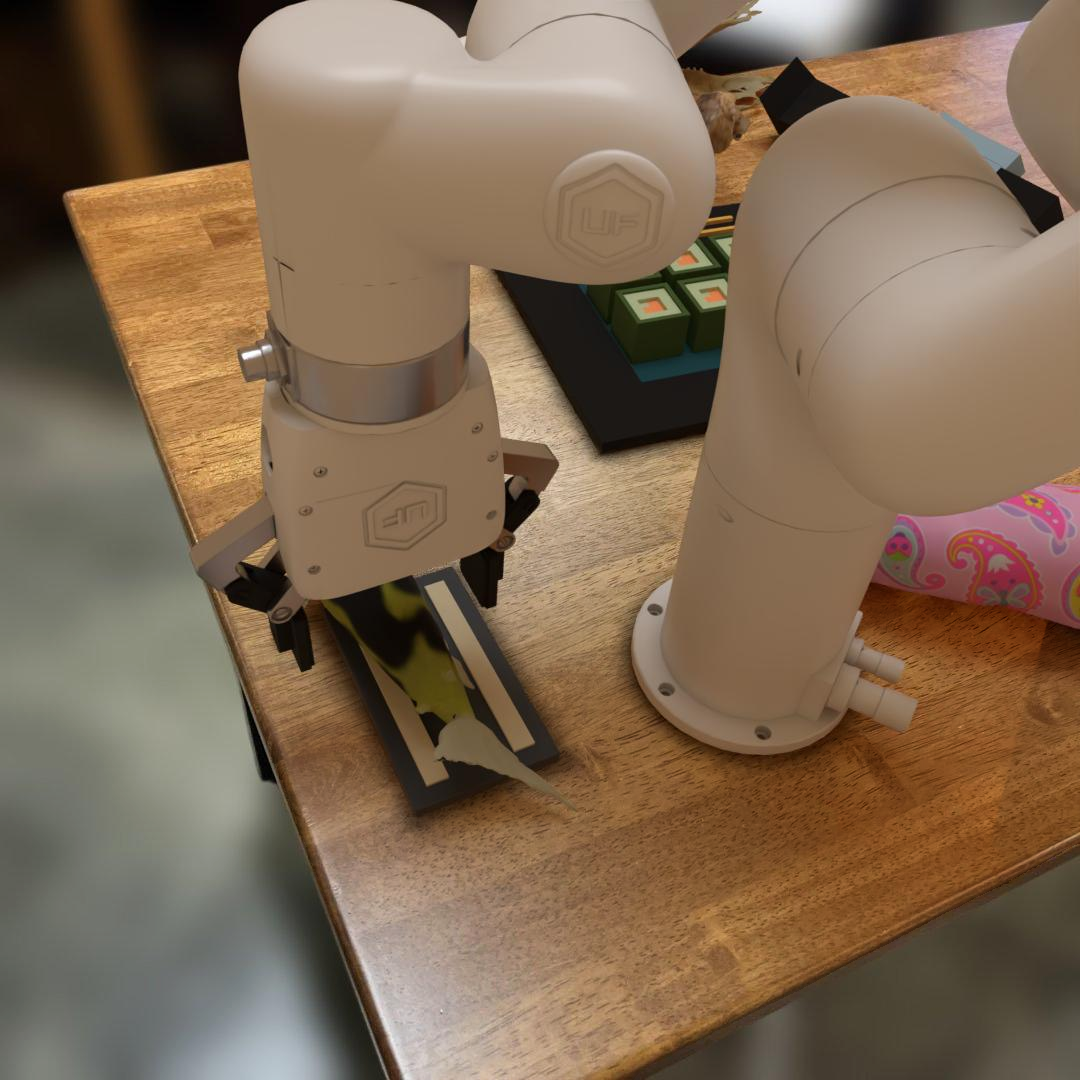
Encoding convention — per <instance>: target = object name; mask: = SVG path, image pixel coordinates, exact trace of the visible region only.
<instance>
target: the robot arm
mask: <svg viewBox="0 0 1080 1080" xmlns="http://www.w3.org/2000/svg"><path fill="white" fill-rule="evenodd" d="M751 1H752V0H477V1H476V4H475V6H474V9H473V12H472V14H471V17H470V19H469V22H468V25H467V30H466V35H465V36H466V41H465V48H464V46H463V44H462V43H461V41H460V39H459V38H460V37H459V36H458V35H457V33H456V32H455V31H454V30H453V29H452V28H451V27H450V26H449V25H448V24H447V23H445V22H444V21H443V20H442V19H440V18H439V17H437V16H436V15H434V14H433V13H431V12H430V11H427V10H425V9H423V8H421V7H418V6H416V5H413V4H410V3H406V2H403V1H398V0H305V1H301V2H298V3H294V4H290V5H287V6H285V7H283V8H280V9H278V10H276V11H275V12H273V13H271V14H270V15H268V16H267V17H265V18H264V19H263V20H262V21H260V23H259V24H257V25H256V26H255V27H254V28H253V30H252V31H251V33H250V35H249V36H248V38H247V40H246V42H245V43H244V45H243V46H242V51H241V54H240V59H239V66H238V74H237V75H238V87H239V98H240V106H241V113H242V120H243V127H244V135H245V140H246V141H245V142H246V147H247V154H248V155H247V156H248V163H249V169H250V176H251V182H252V184H251V185H252V190H253V196H254V204H255V205H254V206H255V211H256V218H257V225H258V232H259V238H260V245H261V251H262V258H263V265H264V272H265V273H264V274H265V280H266V286H267V294H268V302H269V308H270V309H267V310H265V314H266V322H267V329H265V330H264V336H263V338H262V339H256V340H255V343H254V344H251V345H248V346H243V347H238V348H236V355H237V359H238V364H239V368H240V369H241V373H242V376H243V378H244V381H245V382H246V383H247V384H250V383H252V382H256V381H261V380H265V382H264V387H263V394H262V404H261V418H260V419H261V420H260V469H261V472H260V473H261V486H262V497H261V498H260V499H259V500H257V501H255V502H254V503H252V505H250V506H249V507H247V508H245V509H244V510H243V511H241V512H240V513H238V514H237V515H236V516H234V517H233V518H231V519H230V520H229V521H226V522H225V523H224V524H223V525H221V526H220V527H218V528H217V529H216V530H214V531H213V532H211V533H210V534H209V535H207V536H206V537H204V538H203V539H201V540H200V541H198V542H197V543H195V544H194V545H193V546H192V547H191V548H190V549H189V551H188V554H189V558H190V561H191V564H192V566H193V569H194V571H195V573H196V575H197V577H198V578H200V579H201V580H202V581H204V582H205V583H206V584H208V585H209V586H210V587H211V588H213V589H215V590H216V591H217V592H221V594H224V595H225V596H226V598H227V600H228V602H229V603H231V604H232V605H236V606H240V607H243V608H247V609H250V610H252V611H257V612H260V613H263V614H266V615H267V618H268V624H269V629H270V632H271V636H272V639H273V641H274V644H275V647H276V649H277V652H278V653H279V654H283V653H286V652H289V651H291V652H292V654H293V657H294V660H295V661H296V664H297V666H298V669H299V671H300V673H306V672H308V671H310V670H312V669H313V666H314V667H315V665H316V663H315V656H314V655H315V654H314V648H313V641H312V636H311V629H310V621H309V618H308V615H307V613H306V611H305V607H304V608H303V606H302V605H303V604H304V602H305V601H306V600H307V599H309V600H311V601H312V600H314V601H321V600H325V599H333V598H337V597H341V596H345V595H349V594H352V593H355V592H359V591H362V590H365V589H369V588H372V587H375V586H378V585H381V584H385V583H388V582H391V581H394V580H397V579H401V578H404V577H407V576H410V575H413V576H414V575H416V574H419V573H422V572H426V571H428V570H432V569H434V568H437V567H440V566H444V565H445V564H449V563H452V562H456V561H458V560H459V570H460V572H461V575H462V576H463V578H464V580H465V582H466V583H467V585H468V587H469V588H470V590H471V592H472V594H473V595H474V597H475V598H476V600H477V602H478V604H479V606H480V607H481V608H482V609H486V610H489V609H492V608H496V607H497V605H498V589H499V588H498V587H499V581H502V580H503V579H504V571H505V569H504V568H505V554H506V553H505V552H506V551H508V550H510V549H511V548H512V547H514V545H515V544H516V541H517V538H516V535H515V534H514V533H515V532H516V531H517V530H518V529H519V527H521V526H522V524H524V523H525V521H526V520H527V519H528V518H529V517H530V516H532V514H533V513H534V512H535V511H536V510H537V509H538V508H539V507H540V504H541V498H540V495H541V493H542V492H545V491H546V489H547V487H548V486H549V484H550V483H551V481H552V479H553V477H554V476H555V474H556V473H557V472H558V469H559V468H560V461H559V460H558V459H557V457H556V455H555V454H554V453H553V452H552V450H551V449H550V447H549V446H548V445H547V444H545V443H542V442H534V441H528V440H521V439H514V438H506V437H502V434H501V427H500V419H499V412H498V411H499V410H498V406H497V399H496V394H495V390H494V385H493V379H492V375H491V373H490V369H489V365H488V362H487V361H486V359H485V357H484V356H483V355H482V354H481V352H480V351H478V349H477V348H475V346H474V345H473V344H472V343H471V341H470V340H471V339H470V338H471V334H470V333H471V266H475V267H480V268H486V269H491V270H495V269H496V270H501V271H506V272H511V273H516V274H521V275H526V276H531V277H536V278H541V279H546V280H552V281H558V282H564V283H574V284H586V285H604V284H616V283H624V282H629V281H633V280H637V279H641V278H644V277H647V276H649V275H651V274H654V273H656V272H658V271H660V270H662V269H664V268H665V267H667V266H669V265H670V264H672V263H673V262H674V261H676V260H677V259H678V258H679V257H681V256H682V255H683V254H684V253H685V252H686V251H687V250H688V249H689V248H690V247H691V246H692V244H693V243H694V242H695V241H696V239H697V238H698V236H699V235H700V233H701V232H702V230H703V228H704V227H705V224H706V222H707V220H708V217H709V215H710V212H711V209H712V207H713V204H714V201H715V196H716V188H717V165H716V158H715V155H714V151H713V148H712V144H711V140H710V137H709V133H708V130H707V127H706V125H705V122H704V120H703V118H702V115H701V113H700V110H699V108H698V106H697V104H696V102H695V100H694V97H693V95H692V93H691V91H690V89H689V87H688V84H687V82H686V80H685V78H684V74H683V72H682V69H683V68H682V67H681V65H680V63H679V61H678V59H679V58H680V57H681V56H683V55H684V54H685V53H686V52H688V51H689V50H691V49H692V48H691V47H692V46H693V45H694V44H696V43H697V42H698V41H699V40H700V39H702V38H703V37H704V36H705V35H706V34H708V33H709V32H710V31H711V30H713V29H714V28H715V27H716V26H718V25H719V24H720V23H721V22H723V21H724V20H725V19H727V18H728V17H729V16H731V15H732V14H733V13H735V12H736V11H738V10H739V9H740V8H742V7H743V6H744V5H746V4H748V3H749V2H751ZM690 48H691V49H690ZM1005 83H1006V85H1005V88H1006V89H1005V94H1006V99H1007V101H1006V102H1007V105H1008V111H1009V113H1010V117H1011V120H1012V124H1013V126H1014V128H1015V130H1016V131H1017V133H1018V136H1019V137H1020V140H1021V141H1022V142H1023V144H1024V145H1025V147H1026V149H1027V151H1028V152H1029V153H1030V155H1031V157H1032V158H1033V160H1034V161H1035V162H1036V164H1037V165H1038V167H1039V168H1040V170H1041V171H1042V172H1043V174H1044V175H1045V176H1046V178H1047V179H1048V180H1049V181H1050V183H1051V184H1052V185H1053V186H1054V188H1055V189H1056V190H1057V191H1058V193H1059V194H1060V195H1061V197H1063V199H1064V200H1065V202H1066V203H1068V205H1069V206H1070V207H1071V208H1072V209H1073V211H1074V212H1075V213H1073V214H1072V215H1070V216H1068V217H1067V218H1064V220H1063V221H1062V222H1060V223H1059V224H1057V225H1055V226H1054V227H1052V228H1050V229H1049V230H1047V231H1046V232H1044V233H1042V234H1041V235H1040V233H1039V232H1038V231H1037V230H1036V228H1035V227H1034V226H1033V224H1032V223H1031V221H1030V219H1029V217H1028V215H1027V213H1026V211H1025V210H1024V208H1023V207H1022V206H1021V205H1020V203H1019V202H1018V201H1017V199H1016V198H1015V197H1014V196H1013V194H1012V193H1011V192H1010V190H1009V189H1008V188H1007V186H1006V185H1005V184H1004V183H1003V181H1002V180H1001V179H1000V177H999V176H998V175H997V173H996V172H995V171H994V170H993V168H992V167H991V166H990V164H989V163H988V162H987V161H986V159H985V158H984V157H983V156H982V154H981V153H980V152H979V151H978V150H977V149H976V148H975V146H974V145H973V144H972V143H971V142H970V141H969V140H968V139H967V138H966V137H965V136H964V135H963V134H962V133H961V132H960V131H959V130H958V129H957V128H956V127H954V126H953V125H952V124H950V123H949V122H948V121H946V120H945V119H943V118H942V117H941V116H939V115H940V114H938V113H937V112H935V111H933V110H932V109H930V108H928V107H926V106H924V105H922V104H919V103H917V102H914V101H912V100H910V99H905V98H901V97H898V96H892V95H885V94H884V95H882V94H864V95H853V96H850V97H849V98H844V99H840V100H837V101H834V102H831V103H829V104H826V105H824V106H821V107H819V108H818V109H816V110H814V111H812V112H810V113H808V114H806V115H805V116H804V117H802V118H801V119H799V120H798V121H797V122H795V123H794V124H793V125H791V126H790V127H789V128H788V129H787V130H786V131H785V132H784V133H783V134H782V135H781V136H780V135H778V137H777V138H776V139H775V141H774V142H773V143H772V144H771V145H770V147H768V149H767V151H765V153H764V155H763V156H762V157H761V159H760V161H759V162H758V164H757V165H756V166H755V169H754V170H753V172H752V174H751V176H750V178H749V180H748V182H747V184H746V187H745V189H744V192H743V195H742V197H741V200H740V202H739V203H740V206H739V210H738V213H737V217H736V221H735V227H734V232H733V237H732V243H731V252H730V262H729V271H728V285H727V299H726V314H725V328H724V337H723V347H722V354H721V361H720V368H719V374H718V380H717V385H716V390H715V395H714V400H713V404H712V410H711V414H710V419H709V423H708V428H707V431H705V434H704V438H703V441H702V446H701V451H700V456H699V461H698V466H697V469H696V474H695V478H694V483H693V487H692V492H691V496H690V500H689V505H688V510H687V514H686V518H685V523H684V526H683V527H684V528H683V532H682V536H681V541H680V545H679V549H678V554H677V558H676V563H675V568H674V572H673V576H672V577H671V578H669V579H667V580H666V581H665V582H663V583H662V584H660V586H658V587H657V588H655V589H654V590H653V591H652V592H651V594H650V595H649V596H648V597H647V598H646V599H645V600H644V602H643V603H642V605H641V607H640V609H639V611H638V612H637V615H636V618H635V622H634V625H633V630H632V635H631V642H630V657H631V664H632V668H633V671H634V674H635V677H636V680H637V683H638V685H639V687H640V688H641V690H642V691H643V694H644V695H645V697H646V698H647V700H648V701H649V703H650V704H651V705H652V706H653V707H654V708H655V709H656V711H657V712H659V714H660V715H661V716H662V717H663V718H664V719H666V721H668V722H669V723H671V724H672V725H673V726H674V727H675V728H677V729H678V730H679V731H681V732H682V733H684V734H687V735H688V736H690V737H692V738H693V739H695V740H697V741H699V742H700V743H703V744H706V745H709V746H712V747H714V748H717V749H720V750H722V751H727V752H733V753H737V754H743V755H755V756H756V755H761V756H770V755H778V754H785V753H791V752H793V751H797V750H800V749H802V748H805V747H809V746H810V745H812V744H814V743H816V742H818V741H820V740H821V739H822V738H824V737H825V736H827V735H828V734H830V733H831V732H832V731H833V729H835V728H836V727H837V726H838V725H839V724H840V723H841V721H842V719H843V718H844V716H845V714H846V713H847V712H848V710H849V709H850V710H852V711H854V712H857V713H859V714H861V715H863V716H866V717H868V718H870V719H871V721H872V722H874V723H877V724H879V725H882V726H883V727H886V728H888V729H891V730H893V731H895V732H898V733H900V734H902V735H905V734H906V733H907V730H908V728H909V726H910V724H911V722H912V719H913V717H914V715H915V713H916V710H917V707H918V704H919V700H918V699H916V698H914V697H912V696H909V695H907V694H905V693H902V692H899V691H897V690H895V689H893V688H890V687H887V686H881V685H879V684H877V683H874V682H872V681H870V680H867V679H865V678H863V677H860V675H861V672H862V671H864V672H867V673H869V674H871V675H873V676H874V677H876V678H878V679H881V680H883V681H885V682H888V683H890V684H892V685H895V686H897V685H898V683H899V681H900V679H901V677H902V675H903V672H904V670H905V667H906V664H907V661H905V660H903V659H900V658H897V657H896V656H893V655H890V654H888V653H886V652H880V651H878V650H875V649H873V648H870V647H868V646H865V645H864V644H865V641H866V640H865V639H863V638H861V637H858V636H856V632H857V630H858V628H859V625H860V623H861V620H862V619H863V616H864V614H863V613H864V612H862V611H861V610H859V609H860V606H861V604H862V602H863V599H864V597H865V595H866V593H867V590H868V588H869V585H870V583H871V582H870V581H871V579H872V576H873V574H874V571H875V569H876V567H877V564H878V562H879V560H880V557H881V555H882V553H883V550H884V548H885V546H886V543H887V541H888V538H889V536H890V534H891V531H892V529H893V527H894V524H895V522H896V520H897V517H898V515H899V514H904V515H911V516H919V517H935V516H948V515H955V514H960V513H965V512H970V511H974V510H978V509H981V508H985V507H988V506H991V505H994V504H997V503H1000V502H1002V501H1005V500H1008V499H1011V498H1013V497H1016V496H1018V495H1020V494H1023V493H1025V492H1027V491H1030V490H1032V489H1034V488H1037V487H1039V486H1041V485H1043V484H1045V483H1050V482H1052V481H1054V480H1056V479H1058V478H1060V477H1062V476H1064V475H1066V474H1068V473H1070V472H1073V471H1075V470H1077V469H1079V468H1080V0H1048V1H1047V2H1046V3H1045V4H1044V5H1043V7H1041V8H1040V10H1039V11H1038V12H1037V13H1036V14H1035V15H1034V17H1032V19H1031V20H1030V22H1029V23H1028V24H1027V26H1026V27H1025V29H1024V31H1023V32H1022V34H1021V36H1020V38H1018V40H1017V43H1016V45H1015V47H1014V49H1013V50H1012V54H1011V56H1010V59H1009V63H1008V68H1007V74H1006V82H1005ZM496 270H495V271H496ZM505 475H509V476H510V477H509V478H508V479H507V480H506V479H505V478H506V477H505ZM272 540H276V541H275V542H274V543H273V545H272V546H271V547H270V548H269V549H268V551H267V552H266V554H265V555H264V556H263V558H262V559H261V560H260V561H259V563H258V564H257V565H254V564H251V563H248V562H246V561H244V560H245V559H247V558H248V557H249V556H251V555H252V554H254V553H255V552H257V551H258V550H260V549H262V547H264V546H265V545H266V544H268V543H270V542H271V541H272ZM287 576H288V577H287Z"/></svg>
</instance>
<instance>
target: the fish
mask: <svg viewBox="0 0 1080 1080" xmlns="http://www.w3.org/2000/svg"><path fill="white" fill-rule="evenodd" d="M286 576H287V577H288V575H286ZM414 578H415V577H414V574H413V575H410V576H407V577H404V578H401V579H397V580H394V581H391V582H388V583H385V584H381V585H378V586H375V587H372V588H369V589H365V590H362V591H359V592H355V593H352V594H349V595H345V596H341V597H337V598H333V599H325V600H320V602H321V603H322V604H323V606H324V607H326V608H327V609H328V611H329V612H330V613H331V614H332V615H333V616H334V617H335V618H336V619H337V620H338V621H339V622H340V623H341V624H342V625H343V626H344V628H345V629H346V630H347V631H348V632H349V634H350V635H351V636H352V637H353V639H354V640H355V641H357V642H358V643H359V644H360V645H361V646H362V647H363V648H364V649H365V650H366V651H367V652H368V653H369V654H370V655H371V656H372V658H373V659H374V660H375V661H376V662H377V663H378V665H379V666H380V667H381V668H382V669H383V670H384V672H385V673H386V674H387V675H388V676H389V677H390V678H391V679H392V680H393V681H394V682H395V683H396V684H397V685H398V686H399V687H400V688H401V689H402V690H403V691H404V692H405V693H406V694H407V695H408V696H409V697H411V698H412V699H413V700H415V701H416V702H417V707H415V709H414V710H415V712H416V714H417V713H418V714H423V713H425V712H433V713H435V714H436V715H437V716H438V717H440V718H441V719H442V720H443V721H445V722H446V723H447V725H446V726H445V727H444V728H443V729H442V731H441V732H440V734H439V740H438V741H439V745H438V746H437V747H436V748H435V750H434V762H439V761H443V760H449V761H453V762H458V761H463V762H465V763H467V764H470V765H481V766H483V767H485V768H487V769H492V770H494V771H496V772H497V773H499V774H503V775H507V776H509V777H511V778H514V779H513V780H520V781H521V782H523V783H525V784H526V785H527V786H528V787H530V788H531V789H533V790H535V791H537V792H539V793H540V794H542V795H545V796H548V797H550V798H552V799H553V798H554V799H555V800H557V801H559V802H561V803H562V804H563V805H564V806H565V807H566V808H568V809H570V810H571V811H573V812H574V813H577V814H579V813H580V812H581V811H580V809H579V808H577V806H575V805H574V804H573V803H572V802H570V801H569V800H568V799H567V798H565V797H564V796H563V795H562V794H561V793H560V792H559V790H558V789H557V788H555V787H554V786H553V785H552V784H551V783H549V782H548V781H546V780H545V779H544V777H541V776H540V775H539V774H538V773H536V772H535V771H532V770H531V769H529V768H528V767H526V766H525V765H523V763H520V762H519V760H518V758H517V757H516V756H515V755H514V754H513V753H512V752H511V751H510V750H508V749H507V748H506V747H505V746H504V745H503V744H502V743H501V742H500V741H499V740H498V739H497V737H496V736H495V734H494V733H493V732H492V730H490V729H489V728H488V727H487V726H485V725H484V724H483V723H481V722H480V721H478V720H477V719H476V718H475V715H474V713H473V710H472V707H471V705H470V703H469V700H468V697H467V694H466V691H465V689H464V686H466V687H469V688H471V689H474V688H475V687H474V686H473V684H472V683H471V682H470V681H469V679H468V676H467V674H466V673H465V671H464V669H463V667H462V665H461V663H460V662H459V661H458V660H457V659H456V658H454V657H453V656H451V655H450V652H449V649H448V645H447V643H446V642H445V639H444V638H443V635H442V632H441V630H440V628H439V626H438V624H437V622H436V620H435V618H434V616H433V614H432V612H431V610H430V608H429V606H428V604H427V602H426V600H425V599H424V597H423V595H422V593H421V591H420V589H419V587H418V585H417V583H416V581H415V579H414ZM309 600H310V599H307V600H306V601H305V602H304V604H303V605H302V606H303V608H304V609H305V607H306V606H307V605H308V604H309ZM463 685H464V686H463Z"/></svg>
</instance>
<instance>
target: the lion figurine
mask: <svg viewBox="0 0 1080 1080" xmlns="http://www.w3.org/2000/svg"><path fill="white" fill-rule="evenodd" d="M729 92H730V91H727V92H725V93H723V92H721V91H718V92H713V93H708V94H702V95H698V96H696V95H693V97H694V100H695V102H696V104H697V106H698V108H699V110H700V113H701V115H702V118H703V120H704V122H705V125H706V127H707V130H708V133H709V137H710V140H711V144H712V148H713V151H714V156H715V155H718V154H719V155H720V154H722V153H723V152H726V150H728V149H729V148H730V146H731V144H732V142H733V140H734V141H735V142H739V141H741V140H742V137H743V135H745V134H746V133H747V131H748V130H749V127H750V126H751V124H752V120H751V119H749V118H748V117H746V116H745V115H744V114H743V113H742V111H741V112H740V110H739V108H738V107H736V105H737V104H736V101H737V99H736V97H735V96H734V95H732V94H731V93H732V92H731V93H729Z"/></svg>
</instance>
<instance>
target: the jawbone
mask: <svg viewBox="0 0 1080 1080" xmlns="http://www.w3.org/2000/svg"><path fill="white" fill-rule="evenodd" d="M759 1H760V0H752V1H751V2H749V3H747V4H746V5H744V6H743V7H742V8H740V9H739V10H738V11H736V12H735V13H733V14H732V15H731V16H729V17H728V18H727V19H725V20H724V21H723V22H721V23H720V24H719V25H718V26H716V27H715V28H714V29H713V30H711V31H710V32H709V33H708V34H706V35H705V36H704V37H703V38H702V39H700V40H699V41H698V42H697V43H696V44H694V45H693V46H692V47H691V48H690V49H689V50H691V49H694V48H695V47H696V46H698V45H699V44H701V43H702V42H703V41H705V40H707V39H708V38H709V37H711V36H712V35H714V34H717V33H720V32H721V31H723V30H726V29H727V28H730V27H734V26H737V25H738V24H742V23H745V22H749V21H750V20H751V19H752V17H755V16H757V15H760V14H762V13H763V11H762V10H750V9H752V8H753V7H754V6H755V5H756V4H758V2H759ZM744 14H747V15H746V16H742V15H744ZM681 69H682V72H683V74H684V78H685V80H686V82H687V84H688V87H689V89H690V91H691V93H692V95H696V96H698V95H702V94H708V93H713V92H718V91H721V92H723V93H725V92H729V93H731V94H732V95H734V96H735V97H736V100H740V99H742V98H750V97H751V98H754V99H757V100H756V101H755V103H753V104H749V105H738V104H735V105H736V107H738V108H739V110H740V112H741V113H742V112H745V111H748V110H750V109H753V108H756V107H757V106H759V105H762V103H761V101H760V99H759V98H758V97H759V96H757V95H756V93H757V92H759V91H761V90H763V89H766V88H768V86H769V85H770V84H771V83H772V82H773V81H774V80H775V79H776V78H777V77H775V76H773V75H771V74H767V75H766V76H765V77H763V76H759V75H750V74H749V75H747V74H736V75H731V76H728V75H727V76H726V75H717V74H710V73H707V72H706V71H704V70H703V67H700V68H699V70H697V69H696V67H693V69H691V68H690V67H687V68H681ZM763 82H764V83H766V84H764V83H763ZM742 88H744V89H742ZM731 91H736V92H731Z"/></svg>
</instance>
